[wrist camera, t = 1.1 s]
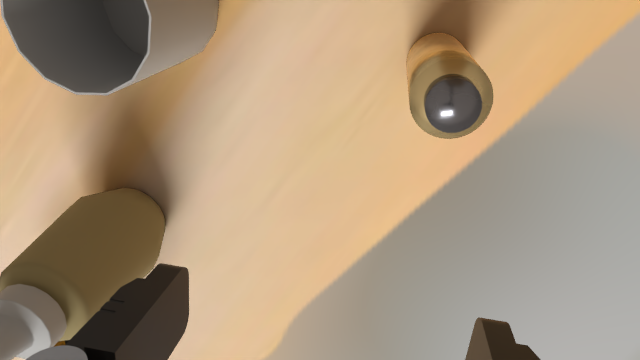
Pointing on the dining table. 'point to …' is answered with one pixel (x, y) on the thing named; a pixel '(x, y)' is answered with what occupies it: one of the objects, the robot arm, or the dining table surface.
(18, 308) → the squeeze bottle
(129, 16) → the cup
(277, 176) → the dining table surface
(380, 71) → the dining table surface
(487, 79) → the spice shaker
